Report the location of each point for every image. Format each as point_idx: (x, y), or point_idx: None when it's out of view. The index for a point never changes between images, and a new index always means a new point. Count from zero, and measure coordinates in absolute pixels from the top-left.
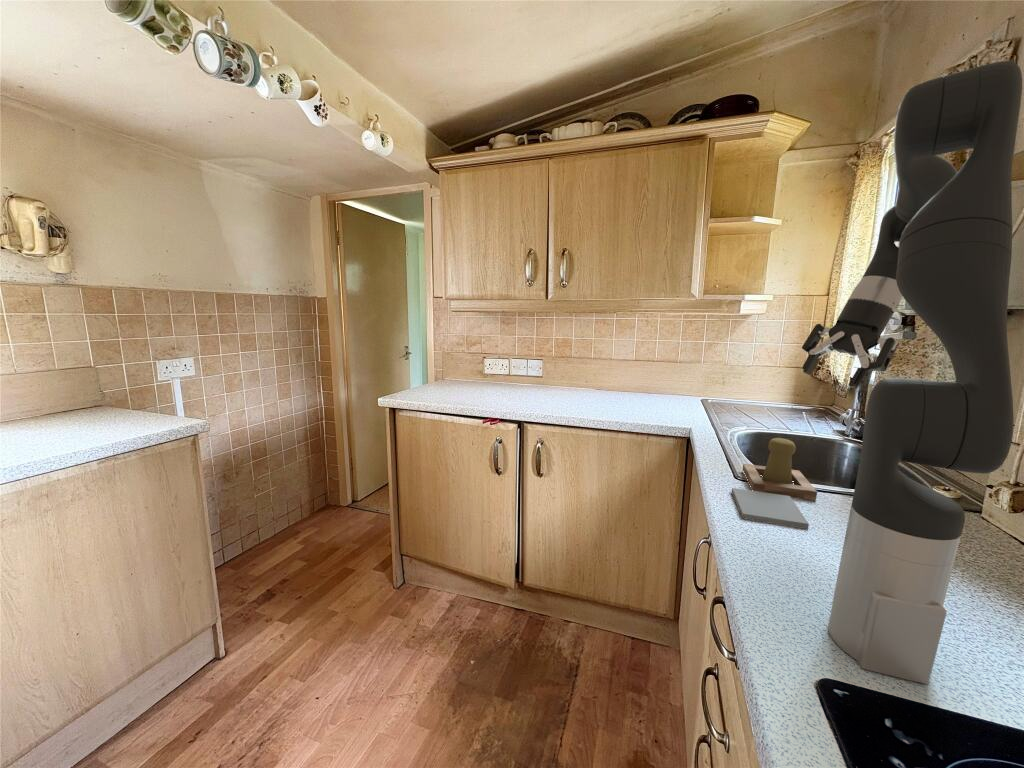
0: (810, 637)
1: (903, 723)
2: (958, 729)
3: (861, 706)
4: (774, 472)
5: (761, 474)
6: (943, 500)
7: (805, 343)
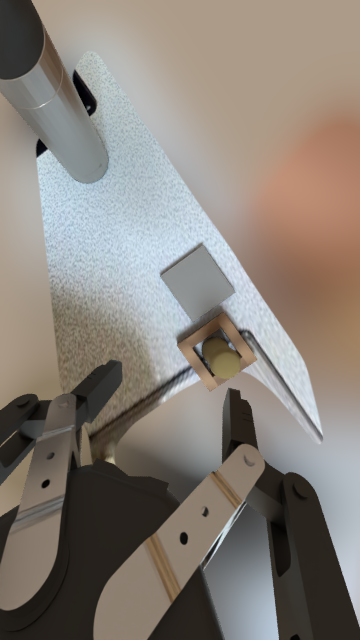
0: (110, 137)
1: None
2: None
3: None
4: (217, 342)
5: None
6: None
7: (317, 518)
